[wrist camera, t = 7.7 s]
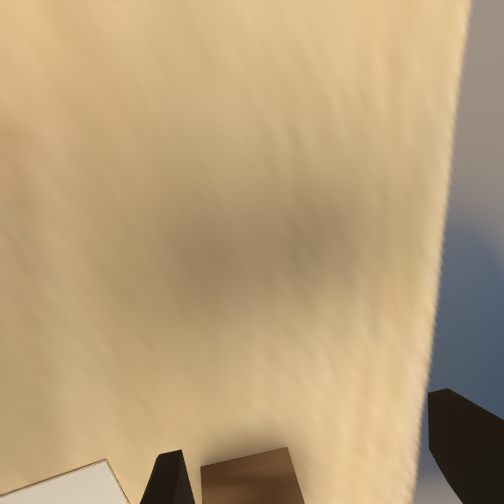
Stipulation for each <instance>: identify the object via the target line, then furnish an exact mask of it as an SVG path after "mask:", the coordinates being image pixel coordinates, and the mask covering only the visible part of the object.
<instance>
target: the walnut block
mask: <svg viewBox="0 0 504 504" xmlns="http://www.w3.org/2000/svg"><path fill="white" fill-rule="evenodd" d="M201 485H202V503H203V504H305V503H304V500H303V497H302V493H301V490H300V487H299V484H298V480H297V477H296V474H295V471H294V468H293V464H292V461H291V458H290V455H289V451H288V448H287V447H286V448H281V449H277V450H273V451H268V452H264V453H259V454H255V455H251V456H246V457H242V458H237V459H233V460H229V461H224V462H220V463H216V464H211V465H207V466H202V467H201Z"/></svg>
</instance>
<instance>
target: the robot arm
mask: <svg viewBox="0 0 504 504" xmlns="http://www.w3.org/2000/svg"><path fill="white" fill-rule="evenodd" d="M428 423H429V450H430V452H431V453H432V455H433V457H434V458H435V461H436V463H437V464H438V466H439V468H440V470H441V471H442V473H443V475H444V477H445V478H446V480H447V482H448V483H449V484H450V486H451V488H452V489H453V490H454V492H455V493H456V494H457V496H458V497H459V499H460V500H461V501H462V503H463V504H504V420H502V419H501V418H499V417H497V416H495V415H493V414H492V413H490V412H488V411H487V410H485V409H483V408H481V407H479V406H478V405H476V404H474V403H473V402H471V401H469V400H468V399H466V398H464V397H462V396H460V395H459V394H457V393H455V392H453V391H452V390H450V389H448V388H447V389H443V390H439V391H434V392H430V393H428ZM140 504H195V501H194V497H193V493H192V489H191V485H190V481H189V477H188V473H187V469H186V465H185V461H184V457H183V453H182V449H181V450H177V451H172V452H168V453H163V454H159V456H158V457H157V458H156V461H155V464H154V467H153V470H152V473H151V476H150V479H149V482H148V484H147V487H146V489H145V492H144V494H143V497H142V499H141V502H140Z"/></svg>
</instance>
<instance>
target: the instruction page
mask: <svg viewBox="0 0 504 504" xmlns="http://www.w3.org/2000/svg"><path fill="white" fill-rule="evenodd" d="M0 504H129V502H128V500H127V498H126V496H125V495H124V493H123V491H122V489H121V487H120V485H119V483H118V481H117V479H116V477H115V476H114V474H113V472H112V470H111V468H110V466H109V464H108V462H107V460H103V461H100V462H97V463H94V464H91V465H88V466H86V467H83V468H80V469H77V470H74V471H71V472H68V473H65V474H63V475H60V476H57V477H54V478H51V479H48V480H45V481H43V482H40V483H37V484H34V485H31V486H28V487H25V488H22V489H20V490H17V491H14V492H11V493H8V494H5V495H2V496H0Z"/></svg>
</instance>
